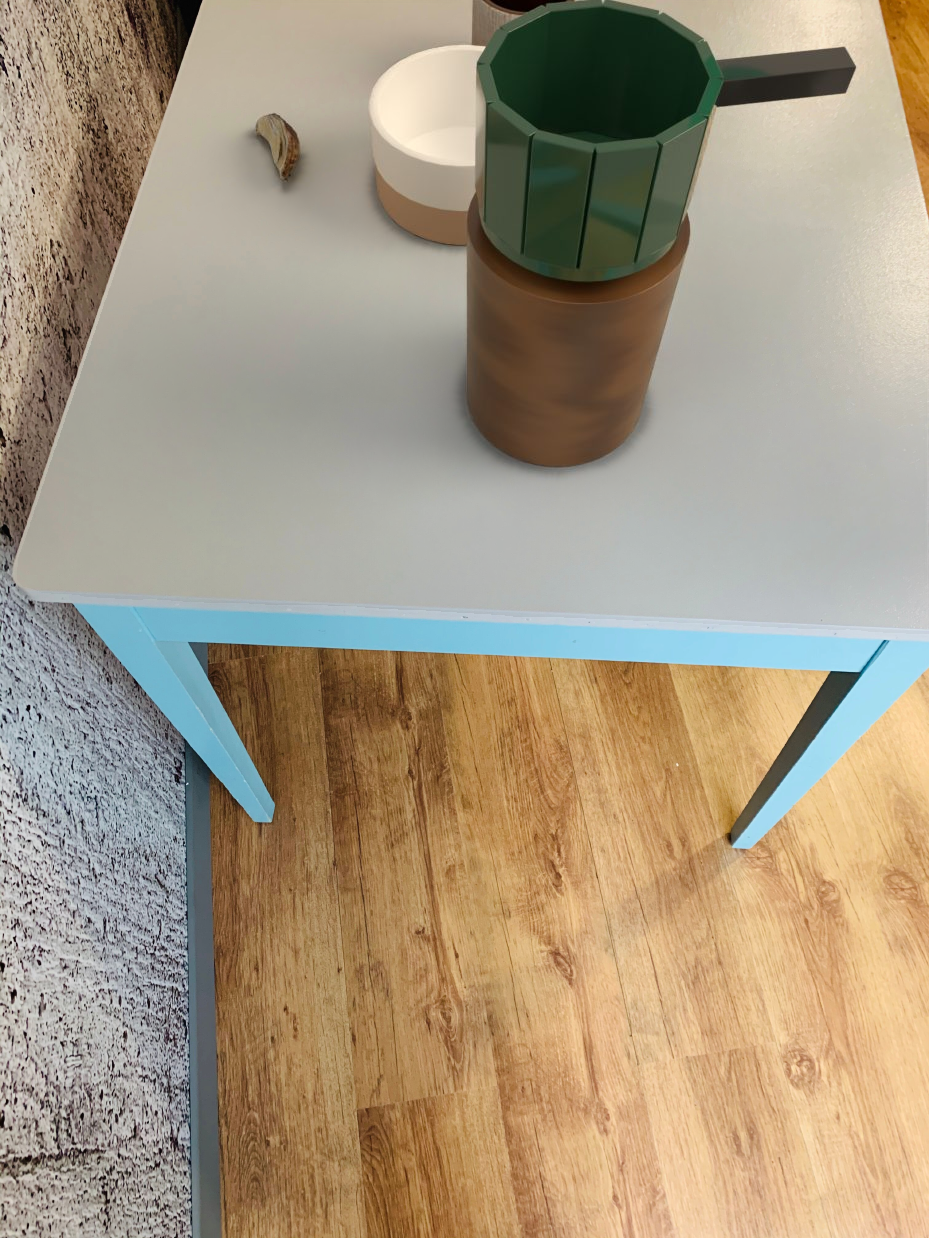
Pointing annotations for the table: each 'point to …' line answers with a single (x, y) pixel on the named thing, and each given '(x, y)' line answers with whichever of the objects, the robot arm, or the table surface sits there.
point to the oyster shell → (280, 142)
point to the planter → (499, 15)
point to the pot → (610, 130)
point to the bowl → (427, 141)
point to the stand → (561, 352)
